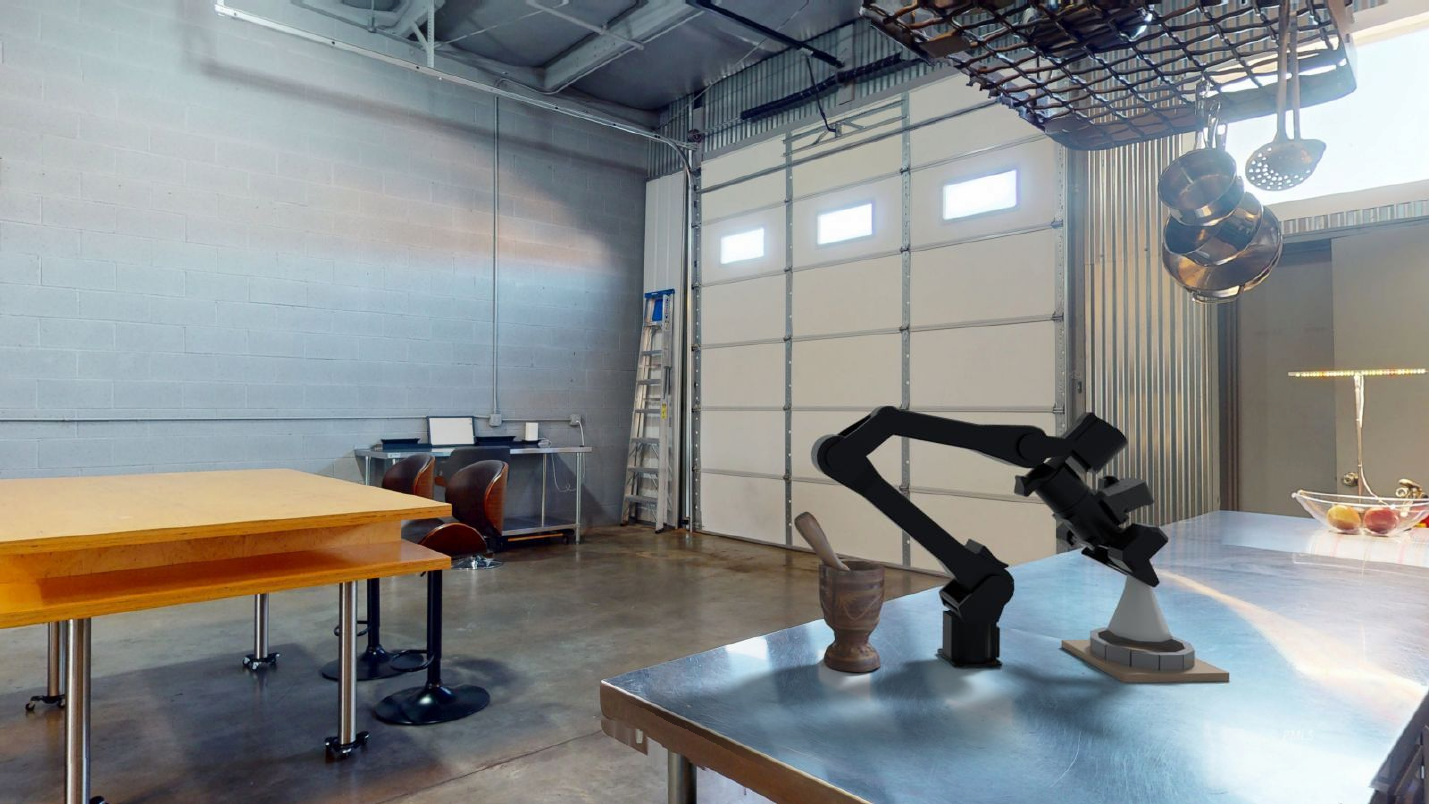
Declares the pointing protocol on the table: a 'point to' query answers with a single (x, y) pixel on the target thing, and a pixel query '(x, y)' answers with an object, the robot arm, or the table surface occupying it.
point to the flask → (1139, 614)
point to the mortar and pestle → (846, 600)
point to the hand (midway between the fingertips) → (1149, 582)
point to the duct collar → (1144, 659)
